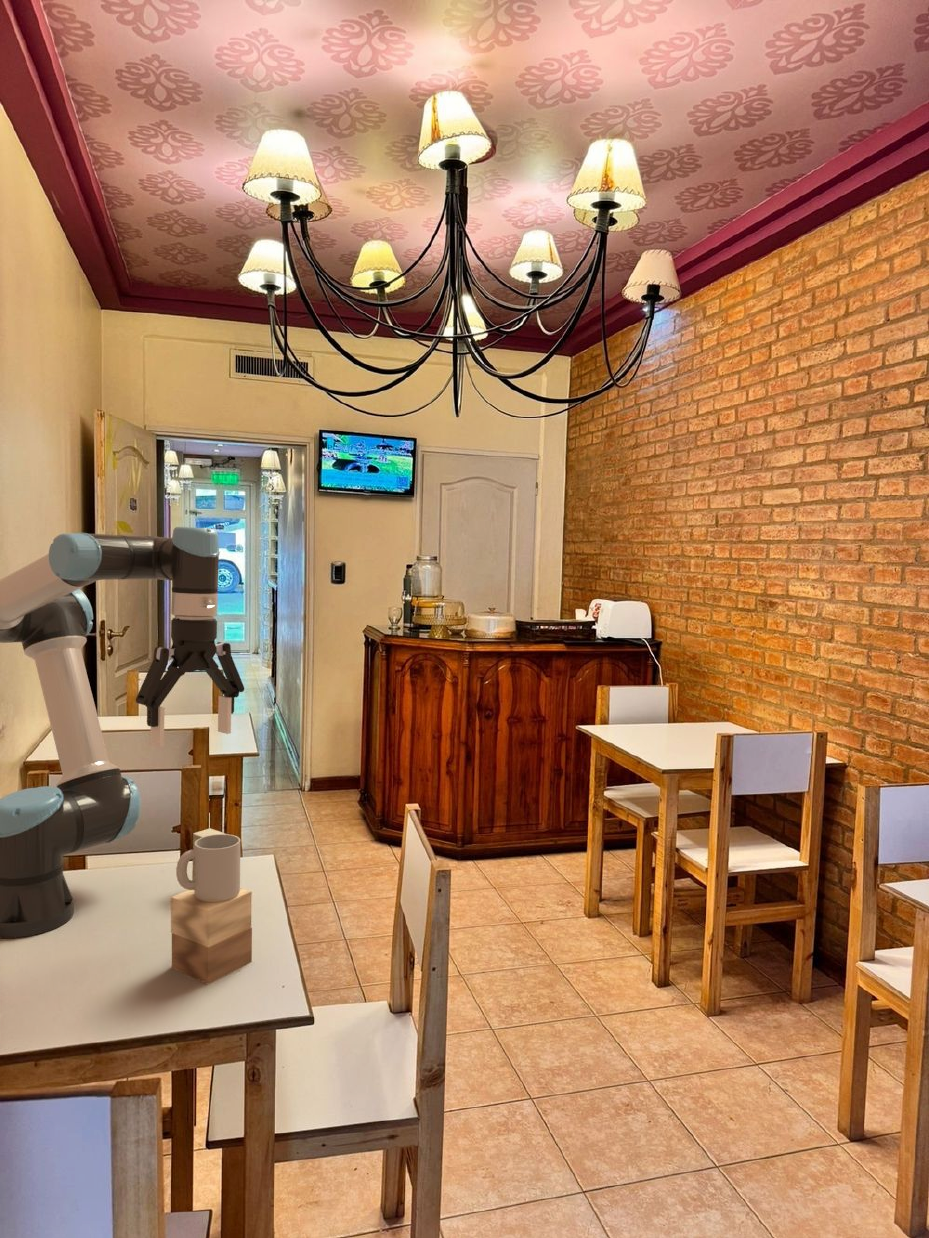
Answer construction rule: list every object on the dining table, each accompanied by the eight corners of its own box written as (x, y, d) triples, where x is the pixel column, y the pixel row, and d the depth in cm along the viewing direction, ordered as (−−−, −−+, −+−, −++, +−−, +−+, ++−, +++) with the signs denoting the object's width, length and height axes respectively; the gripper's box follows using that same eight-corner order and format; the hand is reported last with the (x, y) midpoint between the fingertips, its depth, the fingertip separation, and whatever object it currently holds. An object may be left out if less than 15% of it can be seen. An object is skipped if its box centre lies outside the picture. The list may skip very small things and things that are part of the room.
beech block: (171, 932, 132) (171, 896, 132) (214, 912, 140) (214, 879, 139) (208, 947, 128) (208, 910, 127) (251, 926, 135) (251, 891, 135)
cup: (242, 900, 131) (242, 846, 131) (176, 908, 128) (176, 853, 127) (238, 883, 138) (238, 832, 137) (176, 890, 134) (176, 837, 134)
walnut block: (171, 968, 133) (171, 932, 132) (215, 947, 140) (215, 913, 140) (208, 984, 128) (208, 948, 127) (251, 962, 135) (251, 927, 135)
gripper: (141, 622, 126) (139, 755, 128) (265, 616, 147) (262, 731, 149) (114, 618, 131) (112, 746, 133) (239, 612, 151) (236, 724, 153)
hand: (191, 738), depth 141 cm, fingers open, 13 cm apart
